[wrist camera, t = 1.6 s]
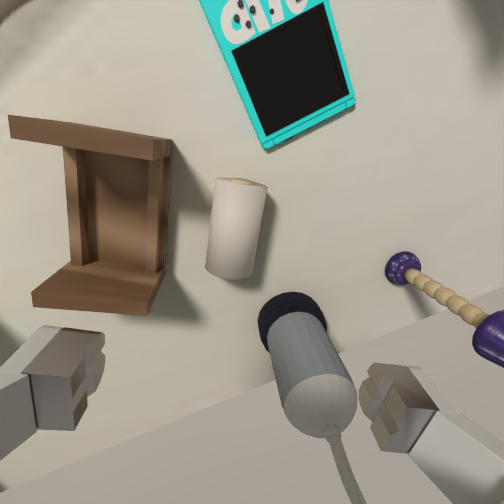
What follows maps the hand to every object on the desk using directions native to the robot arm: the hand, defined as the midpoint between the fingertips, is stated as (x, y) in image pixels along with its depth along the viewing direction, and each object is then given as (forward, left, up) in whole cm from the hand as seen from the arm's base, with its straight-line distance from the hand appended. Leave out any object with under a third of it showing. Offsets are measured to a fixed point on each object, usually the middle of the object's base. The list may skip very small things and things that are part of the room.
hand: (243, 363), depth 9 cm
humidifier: (-14, -10, -23) cm, 28 cm away
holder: (-2, +11, -23) cm, 25 cm away
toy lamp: (-5, -22, -23) cm, 33 cm away
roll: (-2, 0, -23) cm, 23 cm away
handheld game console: (+15, -2, -23) cm, 28 cm away
